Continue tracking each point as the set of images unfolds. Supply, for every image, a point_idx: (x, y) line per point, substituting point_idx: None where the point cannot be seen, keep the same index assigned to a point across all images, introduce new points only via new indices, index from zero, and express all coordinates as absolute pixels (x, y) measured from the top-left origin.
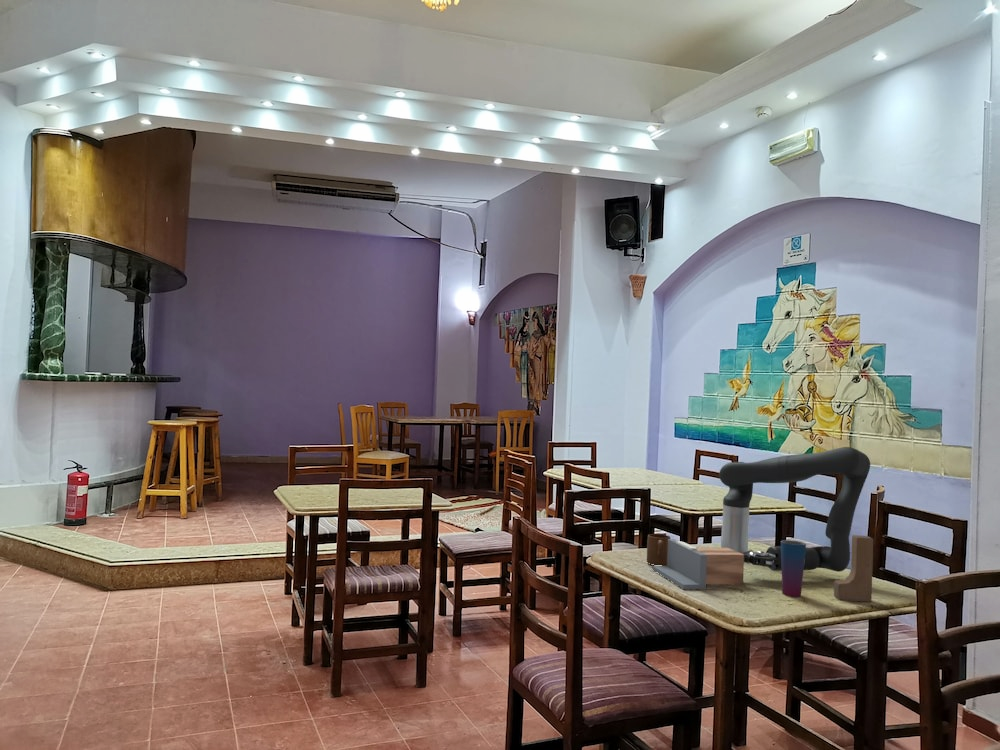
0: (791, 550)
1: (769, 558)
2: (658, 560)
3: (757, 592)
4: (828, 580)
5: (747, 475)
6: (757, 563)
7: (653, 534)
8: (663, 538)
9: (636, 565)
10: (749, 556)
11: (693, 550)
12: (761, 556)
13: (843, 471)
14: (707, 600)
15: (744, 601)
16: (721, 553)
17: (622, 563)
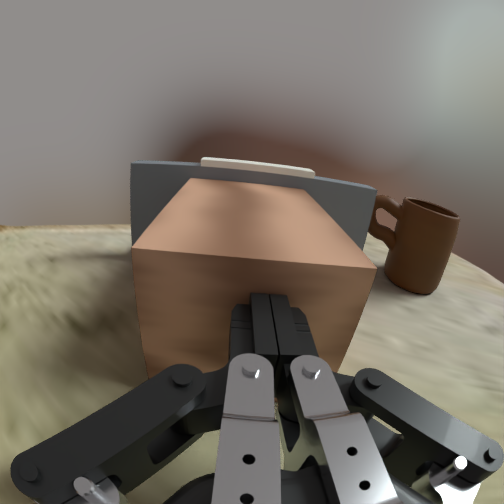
0: None
1: (45, 476)
2: (387, 257)
3: (34, 356)
4: None
5: None
6: (157, 436)
7: (447, 210)
8: (408, 202)
9: (372, 250)
10: (230, 368)
11: (198, 164)
12: (203, 490)
13: None
14: (71, 237)
15: (17, 275)
16: (193, 204)
17: (377, 242)
